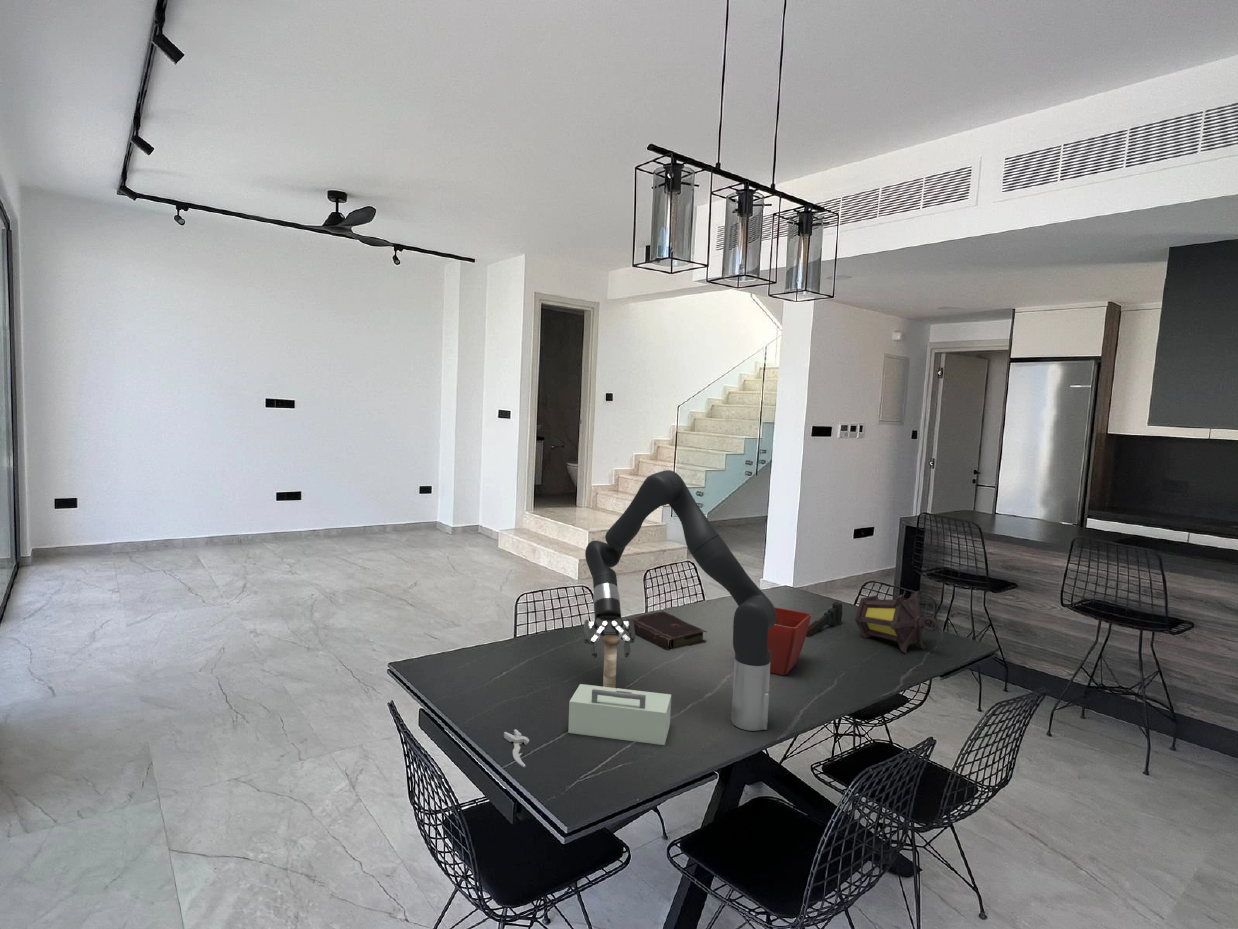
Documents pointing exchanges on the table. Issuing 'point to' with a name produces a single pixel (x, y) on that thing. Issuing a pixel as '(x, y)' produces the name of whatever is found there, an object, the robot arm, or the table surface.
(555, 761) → the table surface
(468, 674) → the table surface
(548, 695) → the table surface
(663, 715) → the toolbox
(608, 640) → the beige long cylinder
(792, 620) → the plant pot
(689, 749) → the table surface
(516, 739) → the pliers
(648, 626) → the diary
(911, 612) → the lantern
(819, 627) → the dark stepped piece
